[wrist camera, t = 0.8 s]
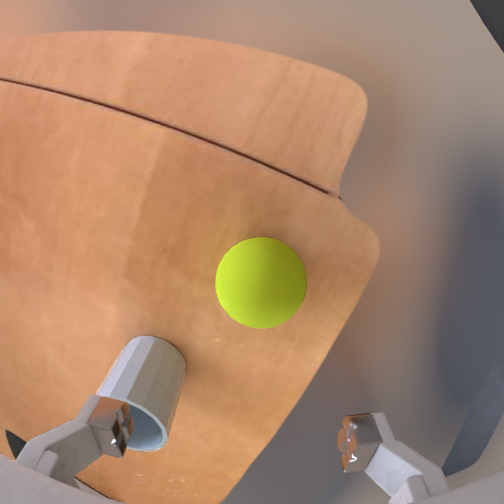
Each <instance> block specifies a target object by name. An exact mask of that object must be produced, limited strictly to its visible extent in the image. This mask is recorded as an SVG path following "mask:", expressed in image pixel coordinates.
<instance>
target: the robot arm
mask: <svg viewBox="0 0 504 504" xmlns="http://www.w3.org/2000/svg"><path fill="white" fill-rule="evenodd" d="M129 409H130V408H129V405H128V403H127V402H124V401H120V400H116V399H112V398H108V397H104V396H99V395H95V394H91V395H90V396H89V397H88V398H87V400H86V402H85V403H84V405H83V407H82V408H81V410H80V412H79V414H78V415H77V417H76V419H75V420H69V421H67V422H65V423H64V424H61V425H59V426H57V427H55V428H53V429H51V430H49V431H47V432H45V433H43V434H41V435H39V436H37V437H35V438H33V439H31V440H28V442H27V443H26V445H25V447H24V448H23V450H22V451H21V453H20V455H19V456H18V458H17V459H16V461H14V460H12V459H11V458H9V457H7V456H5V455H3V454H1V453H0V504H127V503H123V502H119V501H116V500H112V499H109V498H105V497H102V496H99V495H96V494H93V493H90V492H87V491H84V490H81V489H80V487H79V485H78V484H77V483H76V481H75V480H74V478H73V476H75V475H76V474H77V473H79V472H80V471H82V470H83V469H84V468H86V467H87V466H88V465H90V464H91V463H92V462H94V461H95V460H96V459H98V458H99V457H100V456H102V455H103V454H106V455H110V456H114V457H119V458H123V455H124V453H125V450H126V448H127V444H126V442H125V441H126V440H128V439H129V438H130V437H131V434H132V431H133V419H132V416H131V415H130V414H129V413H128V411H129ZM343 425H344V427H342V428H341V429H340V430H339V433H338V440H337V442H338V449H339V452H341V453H342V454H343V457H342V459H341V462H342V466H343V470H344V472H345V473H346V472H356V471H365V472H366V473H367V474H368V475H369V476H370V477H371V478H372V479H373V480H374V481H375V482H376V483H377V484H378V485H379V486H380V487H381V488H382V489H383V490H384V491H386V493H387V494H388V495H390V496H391V497H392V498H391V499H390V501H389V502H388V503H387V504H504V468H502V469H500V470H498V471H496V472H493V473H491V474H489V475H487V476H485V477H482V478H480V479H478V480H475V481H473V482H471V483H468V484H465V485H463V486H460V487H458V488H455V489H452V490H451V489H450V487H449V485H448V483H447V480H446V478H445V476H444V474H443V472H442V469H441V468H440V467H439V466H437V465H436V464H434V463H432V462H431V461H429V460H428V459H426V458H425V457H423V456H422V455H420V454H419V453H417V452H416V451H414V450H413V449H411V448H410V447H408V446H407V445H405V444H404V443H402V442H401V441H396V439H395V437H394V435H393V432H392V430H391V428H390V426H389V423H388V421H387V418H386V416H385V414H384V413H383V412H377V413H367V414H357V415H346V416H345V417H344V420H343Z"/></svg>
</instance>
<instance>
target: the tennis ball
mask: <svg viewBox="0 0 504 504" xmlns="http://www.w3.org/2000/svg"><path fill="white" fill-rule="evenodd" d="M215 283H216V291H217V296H218V299H219V301H220V303H221V305H222V307H223V308H224V310H225V311H226V312H227V313H228V315H229V316H231V317H232V318H233V319H234V320H236V321H237V322H239V323H241V324H243V325H246V326H248V327H253V328H270V327H274V326H277V325H279V324H281V323H283V322H285V321H287V320H288V319H289V318H290V317H292V316H293V315H294V314H295V313H296V312H297V310H298V309H299V307H300V306H301V304H302V302H303V300H304V297H305V294H306V288H307V277H306V272H305V268H304V266H303V263H302V261H301V260H300V258H299V256H298V255H297V254H296V252H295V251H294V250H293V249H292V248H290V247H289V246H288V245H286V244H284V243H283V242H281V241H278V240H276V239H272V238H267V237H255V238H250V239H247V240H244V241H242V242H240V243H238V244H236V245H235V246H234V247H232V248H231V249H230V250H229V251H228V252H227V253H226V254H225V256H224V257H223V259H222V260H221V262H220V264H219V267H218V269H217V274H216V282H215Z"/></svg>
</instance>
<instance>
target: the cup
mask: <svg viewBox="0 0 504 504" xmlns="http://www.w3.org/2000/svg"><path fill="white" fill-rule="evenodd" d="M186 371H187V368H186V363H185V360H184V358H183V356H182V355H181V353H180V352H179V351H178V350H177V349H176V348H175V347H174V346H173V345H172V344H170V343H169V342H167V341H165V340H163V339H160V338H157V337H153V336H139V337H136V338H134V339H132V340H130V341H129V342H128V343H127V344H126V346H125V347H124V348H123V349H122V351H121V352H120V354H119V356H118V357H117V359H116V361H115V362H114V364H113V365H112V367H111V369H110V370H109V372H108V374H107V375H106V377H105V379H104V380H103V382H102V384H101V385H100V387H99V389H98V390H97V392H96V394H95V395H99V396H104V397H108V398H112V399H116V400H120V401H124V402H127V403H128V405H129V408H130V409H129V411H128V413H129V414H130V415H131V416H132V419H133V431H132V434H131V437H130V438H129V439H128V440H126V441H125V442H126V444H127V448H128V449H131V450H136V451H141V452H145V451H156V450H158V449H160V448H162V447H164V445H165V443H166V442H167V440H168V437H169V433H170V430H171V426H172V423H173V419H174V416H175V412H176V409H177V405H178V402H179V398H180V395H181V391H182V388H183V384H184V381H185V378H186Z"/></svg>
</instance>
